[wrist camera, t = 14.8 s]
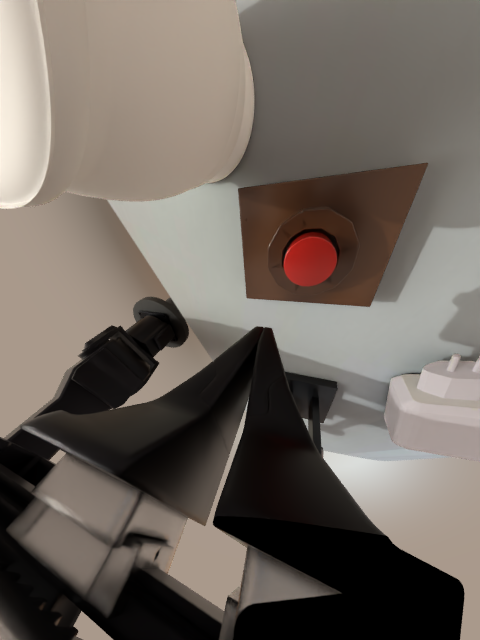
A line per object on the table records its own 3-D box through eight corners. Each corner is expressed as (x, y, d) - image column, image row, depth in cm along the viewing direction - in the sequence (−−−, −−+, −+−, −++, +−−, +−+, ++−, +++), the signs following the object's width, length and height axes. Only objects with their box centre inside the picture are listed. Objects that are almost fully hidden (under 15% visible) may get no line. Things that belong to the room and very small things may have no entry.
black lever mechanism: (322, 416, 32) (327, 485, 25) (274, 404, 35) (265, 462, 27) (336, 381, 26) (348, 459, 18) (276, 370, 28) (265, 433, 21)
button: (284, 277, 15) (282, 285, 14) (287, 233, 13) (284, 237, 12) (328, 278, 14) (331, 287, 13) (339, 230, 12) (343, 235, 11)
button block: (251, 289, 21) (241, 306, 18) (245, 188, 15) (230, 188, 12) (364, 296, 17) (376, 318, 14) (411, 166, 12) (448, 157, 9)
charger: (527, 334, 15) (469, 421, 23) (394, 338, 19) (381, 412, 26) (595, 379, 12) (500, 465, 19) (414, 372, 16) (393, 446, 23)
